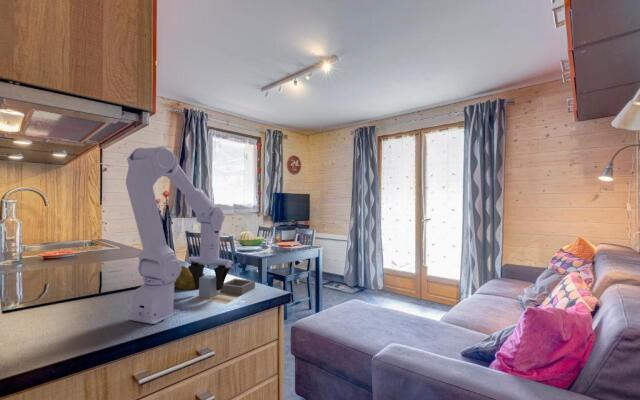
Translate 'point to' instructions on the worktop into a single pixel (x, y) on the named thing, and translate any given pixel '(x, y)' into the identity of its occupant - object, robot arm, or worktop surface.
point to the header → (238, 286)
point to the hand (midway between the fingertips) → (208, 288)
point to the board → (220, 297)
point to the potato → (185, 280)
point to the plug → (207, 286)
